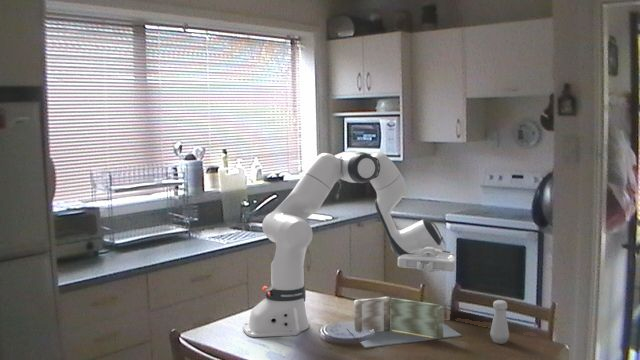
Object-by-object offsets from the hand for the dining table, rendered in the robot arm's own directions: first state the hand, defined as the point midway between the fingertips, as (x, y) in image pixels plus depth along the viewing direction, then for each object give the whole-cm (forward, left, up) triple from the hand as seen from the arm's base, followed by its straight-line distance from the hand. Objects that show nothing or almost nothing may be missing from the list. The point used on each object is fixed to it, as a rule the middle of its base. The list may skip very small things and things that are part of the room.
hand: (423, 267), depth 209 cm
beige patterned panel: (-20, -3, -20) cm, 28 cm away
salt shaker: (+15, -23, -20) cm, 34 cm away
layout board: (-10, -6, -20) cm, 23 cm away
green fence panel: (-7, -11, -19) cm, 23 cm away
